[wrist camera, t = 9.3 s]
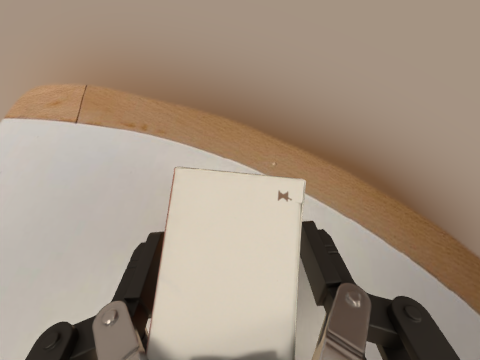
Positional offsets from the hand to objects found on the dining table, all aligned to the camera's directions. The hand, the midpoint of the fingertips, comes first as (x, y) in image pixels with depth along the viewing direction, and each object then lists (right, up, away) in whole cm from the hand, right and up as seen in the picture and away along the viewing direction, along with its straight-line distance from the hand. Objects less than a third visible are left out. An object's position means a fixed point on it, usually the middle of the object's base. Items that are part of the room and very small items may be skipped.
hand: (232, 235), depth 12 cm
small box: (0, -2, +6) cm, 6 cm away
